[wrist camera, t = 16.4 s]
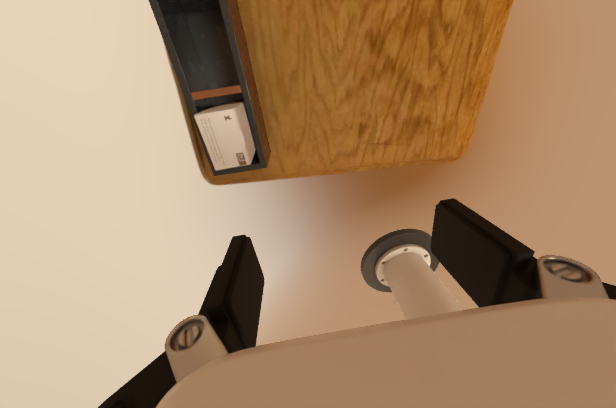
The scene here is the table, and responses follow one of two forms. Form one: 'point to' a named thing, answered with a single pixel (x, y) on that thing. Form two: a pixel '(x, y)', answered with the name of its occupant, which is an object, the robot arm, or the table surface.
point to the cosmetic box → (227, 134)
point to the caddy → (212, 63)
